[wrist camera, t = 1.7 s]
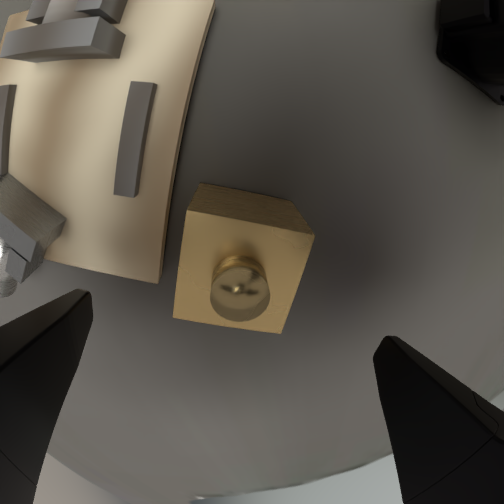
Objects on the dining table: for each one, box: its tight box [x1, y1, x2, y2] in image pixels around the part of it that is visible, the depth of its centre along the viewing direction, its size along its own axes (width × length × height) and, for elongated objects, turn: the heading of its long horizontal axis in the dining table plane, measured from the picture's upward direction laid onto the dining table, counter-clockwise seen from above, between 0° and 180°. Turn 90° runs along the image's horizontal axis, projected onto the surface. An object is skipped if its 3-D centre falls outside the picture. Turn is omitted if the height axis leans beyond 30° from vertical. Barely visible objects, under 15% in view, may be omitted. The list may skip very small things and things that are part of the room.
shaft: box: [0, 173, 67, 297], centre depth 11 cm, size 6×5×3 cm
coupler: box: [173, 183, 315, 334], centre depth 12 cm, size 4×4×6 cm
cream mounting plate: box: [0, 0, 215, 284], centre depth 10 cm, size 12×16×4 cm
